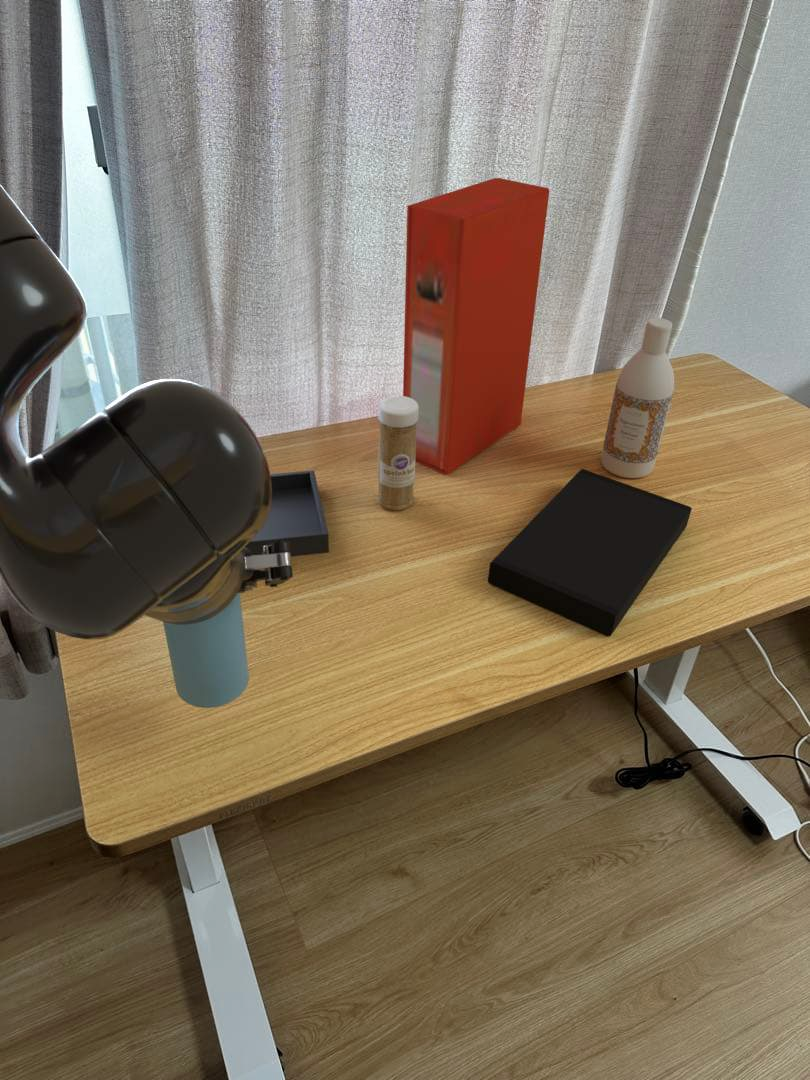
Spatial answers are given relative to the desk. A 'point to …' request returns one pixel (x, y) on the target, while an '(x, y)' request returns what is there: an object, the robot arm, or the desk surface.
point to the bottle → (210, 658)
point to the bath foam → (640, 406)
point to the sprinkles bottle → (397, 451)
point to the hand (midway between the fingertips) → (199, 582)
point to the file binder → (470, 315)
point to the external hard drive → (590, 550)
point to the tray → (294, 516)
